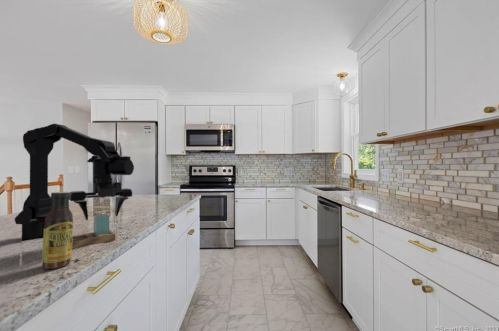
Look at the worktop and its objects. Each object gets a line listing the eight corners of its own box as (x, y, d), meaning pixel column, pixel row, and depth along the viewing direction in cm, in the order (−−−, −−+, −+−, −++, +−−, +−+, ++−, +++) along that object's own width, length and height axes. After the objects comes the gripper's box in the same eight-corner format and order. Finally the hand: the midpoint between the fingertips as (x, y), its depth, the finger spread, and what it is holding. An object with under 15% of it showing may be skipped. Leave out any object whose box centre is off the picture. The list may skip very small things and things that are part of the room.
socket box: (65, 250, 73) (66, 241, 73) (62, 244, 79) (63, 236, 79) (115, 241, 83) (115, 233, 83) (109, 236, 89) (109, 228, 89)
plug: (96, 243, 81) (96, 217, 81) (93, 240, 84) (93, 215, 84) (109, 240, 84) (109, 215, 84) (106, 238, 86) (106, 214, 86)
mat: (84, 238, 85) (84, 237, 85) (81, 234, 90) (81, 233, 90) (106, 235, 90) (106, 234, 90) (101, 231, 95) (101, 230, 95)
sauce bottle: (46, 272, 58) (47, 194, 58) (37, 266, 62) (38, 192, 62) (77, 263, 64) (77, 191, 64) (67, 258, 67) (68, 190, 67)
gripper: (73, 176, 71) (73, 226, 71) (137, 175, 84) (137, 217, 84) (68, 175, 79) (68, 220, 79) (127, 174, 92) (127, 213, 92)
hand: (102, 218), depth 84 cm, fingers open, 9 cm apart
